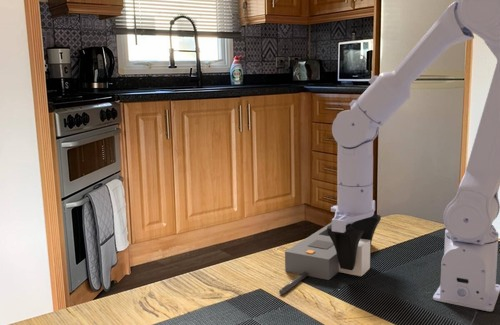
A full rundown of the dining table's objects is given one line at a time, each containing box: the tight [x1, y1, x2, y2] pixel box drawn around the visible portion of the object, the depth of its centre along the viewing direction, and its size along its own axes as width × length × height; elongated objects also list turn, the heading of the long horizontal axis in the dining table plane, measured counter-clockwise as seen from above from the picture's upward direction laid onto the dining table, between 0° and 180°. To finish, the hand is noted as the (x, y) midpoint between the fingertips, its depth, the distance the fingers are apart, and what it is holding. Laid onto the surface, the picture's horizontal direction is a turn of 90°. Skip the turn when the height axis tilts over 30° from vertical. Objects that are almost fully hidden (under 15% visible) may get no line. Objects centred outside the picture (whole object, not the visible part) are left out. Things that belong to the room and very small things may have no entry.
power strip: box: [278, 221, 340, 295], centre depth 89 cm, size 29×8×4 cm, turn 147°
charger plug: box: [338, 239, 371, 277], centre depth 86 cm, size 4×4×5 cm
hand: (354, 262), depth 86 cm, fingers open, 6 cm apart
